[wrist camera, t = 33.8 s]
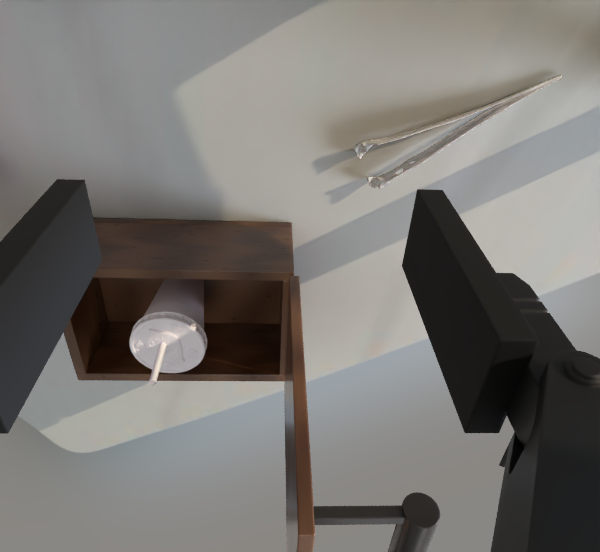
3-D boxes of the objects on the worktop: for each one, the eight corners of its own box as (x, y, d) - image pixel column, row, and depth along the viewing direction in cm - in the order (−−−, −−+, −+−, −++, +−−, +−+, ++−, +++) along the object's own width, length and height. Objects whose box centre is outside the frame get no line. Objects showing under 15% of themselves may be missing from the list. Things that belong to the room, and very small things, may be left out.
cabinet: (104, 322, 52) (77, 380, 46) (79, 217, 45) (43, 267, 38) (287, 324, 54) (288, 381, 47) (291, 222, 46) (293, 272, 39)
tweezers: (369, 187, 44) (374, 196, 43) (350, 141, 42) (354, 149, 40) (556, 98, 42) (569, 104, 40) (547, 44, 39) (561, 47, 38)
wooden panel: (288, 643, 29) (414, 640, 30) (297, 535, 22) (465, 533, 23) (284, 385, 46) (365, 385, 47) (289, 275, 39) (384, 277, 39)
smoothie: (193, 243, 46) (165, 345, 35) (230, 290, 49) (215, 397, 38) (139, 270, 48) (95, 376, 36) (178, 314, 51) (149, 423, 40)
